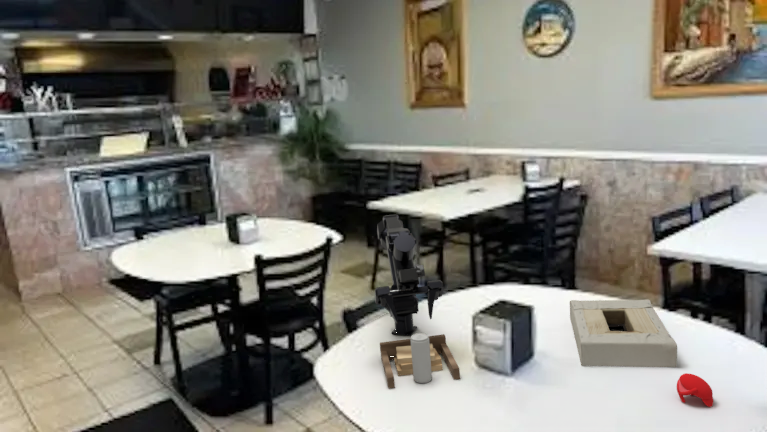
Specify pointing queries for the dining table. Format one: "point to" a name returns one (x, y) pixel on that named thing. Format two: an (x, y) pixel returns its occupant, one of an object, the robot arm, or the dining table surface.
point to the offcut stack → (405, 360)
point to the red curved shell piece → (694, 388)
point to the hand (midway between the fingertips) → (414, 320)
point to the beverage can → (421, 357)
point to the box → (621, 334)
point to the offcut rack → (390, 346)
